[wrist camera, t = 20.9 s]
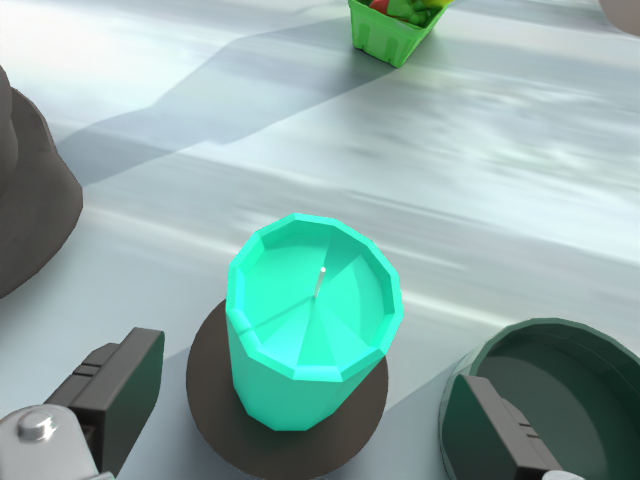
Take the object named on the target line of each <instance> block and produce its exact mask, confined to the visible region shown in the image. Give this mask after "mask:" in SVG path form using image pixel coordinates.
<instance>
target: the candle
mask: <svg viewBox="0 0 640 480" xmlns="http://www.w3.org/2000/svg"><path fill="white" fill-rule="evenodd" d="M225 311H226V320H227V330H228V339H229V348H230V357H231V366H232V376H233V385H234V388H235V390H236V392H237V394H238V396H239V398H240V400H241V402H242V404H243V406H244V408H245V410H246V412H247V414H248V415H250V416H251V417H253V418H255V419H256V420H258V421H260V422H261V423H263V424H264V425H266V426H268V427H269V428H271V429H273V430H274V431H306V430H308V429H309V428H311V427H313V426H314V425H316V424H317V423H319V422H320V421H322V420H324V419H325V418H327V417H328V416H330V415H331V414H333V413H334V412H335V410H336V409H337V408H338V407H339V406H340V405H341V404H342V403H343V402H344V400H345V399H346V398H347V397H348V396H349V395H350V394H351V393H352V392H353V390H354V389H355V388H356V387H357V386H358V385H359V384H360V383H361V382H362V380H363V379H364V378H365V377H366V376H367V375H368V374H369V373H370V371H371V370H372V369H373V368H374V367H375V366H376V365H377V364H378V363H379V361H380V360H381V359H382V358H383V357H384V356H385V355H386V353H387V351H388V348H389V346H390V344H391V342H392V340H393V338H394V336H395V333H396V331H397V329H398V327H399V325H400V323H401V320H402V318H403V316H404V314H403V306H402V299H401V291H400V284H399V276H398V273H397V272H396V270H395V269H394V268H393V267H392V265H391V264H390V263H389V262H388V260H387V259H386V258H385V256H384V255H383V254H382V253H381V251H380V250H379V249H378V248H377V246H376V245H375V244H374V243H373V241H371V240H370V239H368V238H366V237H365V236H363V235H361V234H360V233H358V232H356V231H355V230H353V229H351V228H350V227H348V226H347V225H345V224H343V223H342V222H340V221H338V220H337V219H333V218H326V217H319V216H313V215H306V214H299V213H292V214H290V215H288V216H286V217H284V218H282V219H280V220H278V221H276V222H274V223H272V224H270V225H268V226H266V227H264V228H262V229H260V230H258V231H256V232H254V233H253V235H252V236H251V237H250V239H249V240H248V241H247V242H246V244H245V245H244V246H243V248H242V249H241V250H240V251H239V253H238V254H237V255H236V257H235V258H234V259H233V260H232V262H231V263H230V264H229V271H228V284H227V296H226V309H225Z"/></svg>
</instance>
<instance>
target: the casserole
mask: <svg viewBox="0 0 640 480" xmlns="http://www.w3.org/2000/svg"><path fill="white" fill-rule="evenodd" d="M82 208H83V196H82V188H81V186H80V185H79V183H78V182H77V180H76V178H75V177H74V175H73V174H72V172H71V171H70V169H69V168H68V167H67V165H66V164H65V163H64V161H63V160H62V159H61V157H60V156H59V155H58V152H57V150H56V147H55V144H54V141H53V139H52V136H51V133H50V131H49V128H48V125H47V123H46V120H45V118H44V116H43V115H42V114H41V112H40V111H39V110H38V108H37V107H36V106H35V105H34V103H33V102H32V101H30V100H29V99H28V98H27V97H25V96H24V95H23V94H22V93H20V92H19V91H18V90H17V89H15V88H13V87H11V86H10V83H9V81H8V78H7V75H6V72H5V71H4V70H3V68H2V67H1V66H0V299H1V298H3V297H5V296H6V295H8V294H10V293H11V292H12V291H14V290H15V289H16V288H18V287H19V286H20V285H22V284H23V283H24V282H26V281H27V280H28V279H30V278H31V277H32V276H34V275H35V274H36V273H38V272H39V271H40V269H41V268H42V267H43V266H44V265H45V264H46V263H47V262H48V261H49V260H50V259H51V258H52V257H53V256H54V255H55V254H56V253H57V252H58V251H59V250H60V248H61V247H62V245H63V244H64V243H65V241H66V240H67V238H68V237H69V235H70V234H71V232H72V231H73V229H74V228H75V226H76V224H77V221H78V218H79V216H80V213H81V211H82Z"/></svg>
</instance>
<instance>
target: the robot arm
mask: <svg viewBox="0 0 640 480" xmlns="http://www.w3.org/2000/svg"><path fill="white" fill-rule="evenodd" d="M164 341H165V335H164V332H163V331H158V330H151V329H144V328H137V327H135V328H133V329H132V330H131V332H130V333H129V334H128V335H127V336H126V338H125V339H124V340H123V341H122V342H121V343H120V344H115V343H108V344H106V345H104V346H102V347H100V348H98V349H96V350H94V351H92V352H91V353H90V354H89V355H88V356H87V357H86V358H85V360H84V361H83V362H82V363H81V365H79V366H78V367H77V368H76V369H75V370H74V371H73V373H72V375H69V377H68V378H67V379H66V380H65V381H64V382H63V383H62V384H61V385H60V386H59V387H58V388H57V389H56V390H55V391H54V392H53V394H52V395H51V396H50V397H49V398H48V399H47V400H46V401H45V402H44V403H43V404H42V405H34V406H29V407H25V408H22V409H19V410H16V411H14V412H12V413H10V414H8V415H7V416H5V417H4V418H2V419H1V420H0V480H115V479H116V477H117V475H118V473H119V472H120V470H121V468H122V466H123V464H124V462H125V461H126V459H127V457H128V455H129V453H130V451H131V449H132V448H133V446H134V444H135V442H136V440H137V438H138V436H139V435H140V433H141V431H142V429H143V427H144V425H145V423H146V422H147V420H148V418H149V416H150V414H151V412H152V411H153V409H154V406H155V404H156V401H157V398H158V394H159V389H160V383H161V373H162V362H163V352H164ZM442 443H443V447H444V449H445V452H446V454H447V457H448V459H449V462H450V464H451V466H452V469H453V471H454V474H455V476H456V478H457V480H586V479H584V478H582V477H580V476H577V475H575V474H572V473H569V472H565V471H564V470H563V469H562V467H561V466H560V465H559V463H558V462H557V460H556V459H555V458H554V456H553V455H552V454H551V452H550V451H549V449H548V448H547V447H546V445H545V444H544V443H543V441H542V440H541V439H539V436H538V434H537V433H536V432H535V430H534V429H533V428H532V427H530V423H529V422H528V421H527V419H526V418H525V417H524V415H523V414H522V413H521V411H520V410H518V409H517V408H516V407H515V406H513V405H512V404H511V403H510V402H508V401H507V400H506V399H503V398H501V397H500V396H499V394H498V393H497V391H496V390H495V389H494V387H493V386H492V384H491V383H490V381H489V380H488V379H487V378H483V377H476V376H469V375H462V374H459V375H457V376H456V378H455V380H454V383H453V387H452V390H451V394H450V398H449V402H448V405H447V409H446V413H445V416H444V420H443V424H442Z"/></svg>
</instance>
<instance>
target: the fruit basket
mask: <svg viewBox="0 0 640 480" xmlns="http://www.w3.org/2000/svg"><path fill="white" fill-rule="evenodd" d="M452 1H454V0H348V3H349V7H350V9H351V24H352V38H353V46H354V47H356V48H359V49H364V51H365V52H366V53H368V54H370V55H372V56H374V57H376V58H378V59H380V60H382V61H384V62H388V63H389V62H390V64H391V65H393V66H394V67H396V68H400V67H401V66H402V65H403V63H404V62H405V61H406V59H407V58H408V56H410V55H411V54H412V52H413V51H414V50H415V49H416V47H417V46H418V44H419V43H421V41H422V40H423V39H424V38H425V37H426V35H427V34H428V32H429V31H430V30H431V29H432V28H433V27H434V26H435V24H436V23H437V21H438V20H439V18H440V17H441V16H442V14H443V13H444V11H445V10H446V8H447V7H448V5H449V4H450V3H451V2H452Z"/></svg>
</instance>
